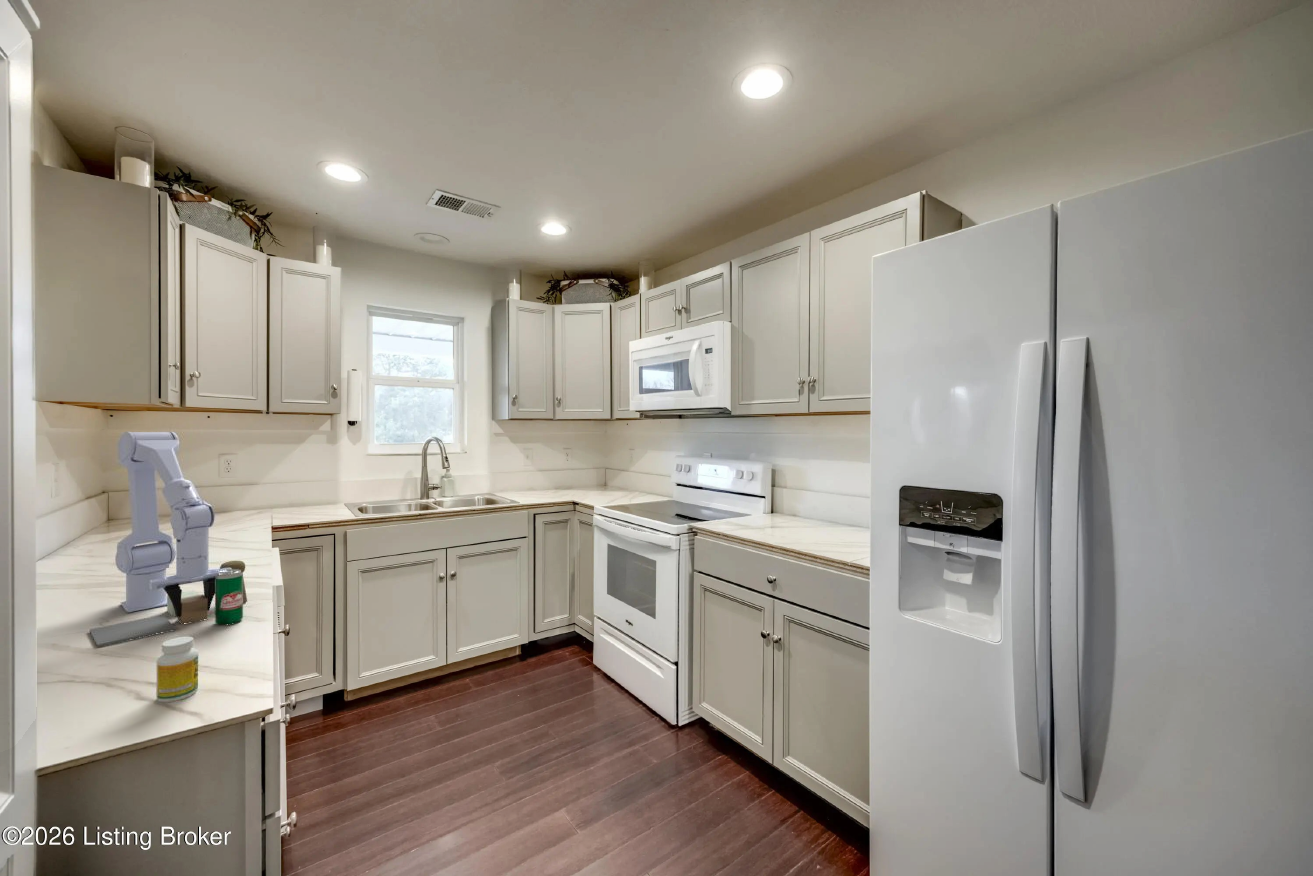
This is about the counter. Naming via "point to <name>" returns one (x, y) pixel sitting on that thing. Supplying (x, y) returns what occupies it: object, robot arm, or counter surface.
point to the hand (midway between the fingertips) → (192, 612)
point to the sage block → (183, 595)
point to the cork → (240, 566)
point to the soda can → (228, 597)
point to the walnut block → (193, 609)
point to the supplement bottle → (177, 670)
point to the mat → (130, 630)
